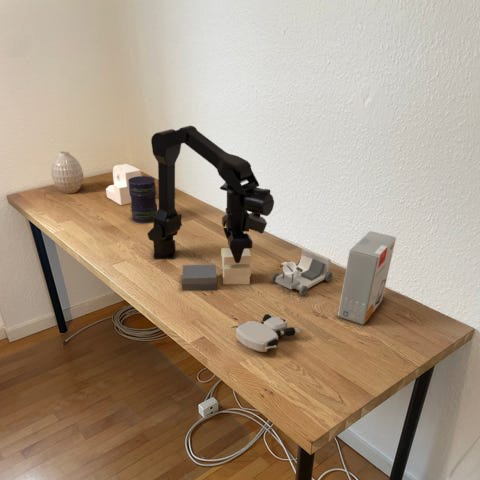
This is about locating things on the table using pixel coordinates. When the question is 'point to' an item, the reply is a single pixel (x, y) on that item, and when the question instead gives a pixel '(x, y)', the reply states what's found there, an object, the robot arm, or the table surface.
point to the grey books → (199, 277)
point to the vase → (67, 172)
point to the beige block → (236, 273)
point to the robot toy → (263, 333)
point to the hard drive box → (366, 276)
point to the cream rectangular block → (229, 258)
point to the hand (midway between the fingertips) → (235, 258)
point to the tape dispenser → (122, 183)
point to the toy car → (304, 272)
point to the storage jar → (143, 199)
